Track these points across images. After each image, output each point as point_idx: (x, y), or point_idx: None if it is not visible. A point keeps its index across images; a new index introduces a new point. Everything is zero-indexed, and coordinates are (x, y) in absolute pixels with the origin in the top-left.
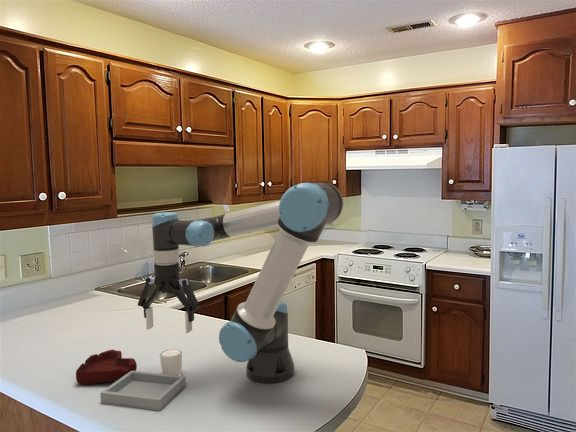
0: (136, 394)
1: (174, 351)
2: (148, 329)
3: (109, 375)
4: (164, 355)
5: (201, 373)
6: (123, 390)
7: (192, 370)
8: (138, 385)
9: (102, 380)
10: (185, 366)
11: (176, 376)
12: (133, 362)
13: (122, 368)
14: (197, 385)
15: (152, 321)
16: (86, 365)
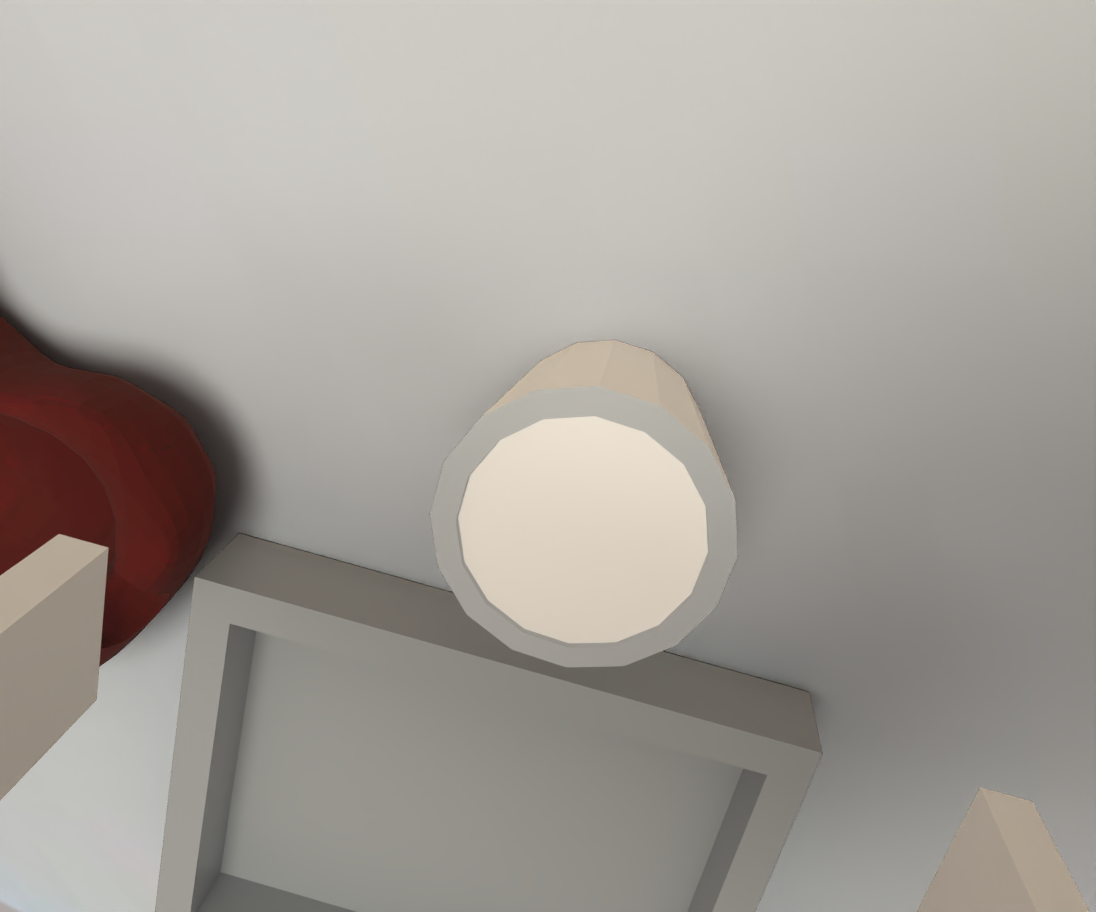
0: (415, 830)
1: (613, 474)
2: (90, 698)
3: None
4: (511, 595)
5: (939, 430)
6: (274, 758)
7: (820, 346)
8: (363, 689)
9: None
10: (712, 228)
11: (724, 744)
12: (153, 534)
13: (53, 443)
14: (923, 685)
15: (27, 637)
16: None
